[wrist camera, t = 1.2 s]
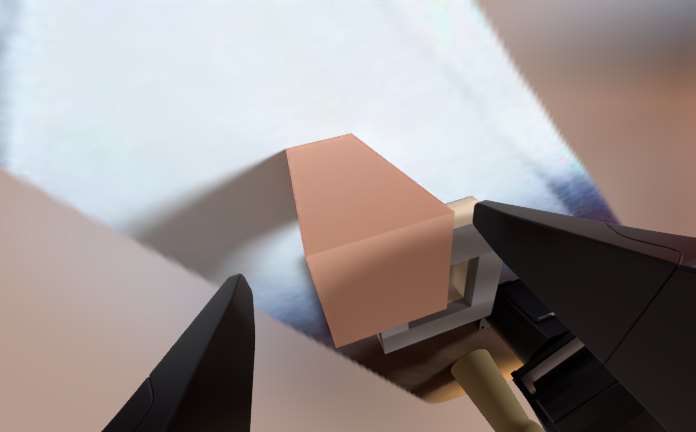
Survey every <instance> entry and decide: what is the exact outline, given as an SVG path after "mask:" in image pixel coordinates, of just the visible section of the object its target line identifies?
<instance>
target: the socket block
mask: <svg viewBox="0 0 696 432" xmlns="http://www.w3.org/2000/svg"><path fill="white" fill-rule="evenodd" d="M477 202H481V201H479V200H477V199H476V198H474V197H472V196H471V197H468V198H465V199H461V200H458V201H454V202H451V203H448V204H445V205H446V206H448V207H449V208H450V209H452V210H453V211H454V212H455V215H454V227H453V239H452V251H451V263H450V275H449V287H448V299H447V309H444V310H441V311H439V312H436V313H433V314H430V315H427V316H425V317H422V318H419V319H416V320H414V321H411V322H408V323H405V324H402V325H400V326H397V327H394V328H391V329H389V330H386V331H383V332H380V333H377V336H378V338H379V341H380V343H381V346H382V348H383V351H384V353H385V354H387V353H389V352H392V351H395V350H397V349H400V348H403V347H405V346H408V345H411V344H414V343H416V342H419V341H422V340H424V339H427V338H430V337H432V336H435V335H438V334H440V333H443V332H446V331H448V330H451V329H454V328H456V327H459V326H462V325H464V324H467V323H470V322H472V321H475V320H478V319H480V318H483V317H486V316H489V315H491V312H492V308H493V304H494V299H495V295H496V291H497V287H498V282H499V278H500V274H501V270H502V266H503V261H502V260H501V259H500V258H499V257H498V256H497V254H496V253H495V252H494V251H493V250H492V248H491V247H490V246H489V244H488V243H487V242H486V241H485V239H484V238H483V237H482V236H481V234H480V233H479V232H478V231H477V229H476V228H475V227H474V225H473V222H472V218H473V210H474V205H475V204H476V203H477Z"/></svg>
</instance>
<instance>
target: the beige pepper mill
mask: <svg viewBox="0 0 696 432" xmlns="http://www.w3.org/2000/svg"><path fill="white" fill-rule="evenodd" d="M451 373H452V375H453V376H454V377H455V379H456V380H457V381H458V383H459V384H460V385H461V387H462V388H463V389H464V391H465V392H466V393H467V395H468V396H469V397H470V399H471V400H472V401H473V403H474V404H475V405H476V406H477V408H478V409H479V411H480V412H481V413H482V415H483V416H484V417H485V418H486V420H487V421H488V423H489V424H490V425H491V427H492V428H493V429H494V430H495V432H545V431H544V430H543V429H542V428H541V427H540V426H539V425H538V424H537V423H535V422H534V421H532V420H530V419H529V418H528V416H527V415H526V413H525V411H524V410H523V408H522V406H521V405H520V403H519V402H518V400H517V398H516V397H515V395H514V394H513V392H512V390H511V389H510V387H509V385H508V384H507V382H506V380H505V379H504V377H503V375H502V374H501V372H500V371H499V369H498V367H497V366H496V364H495V362H494V361H493V359H492V358H491V356H490V354H489V353H488V351H487V350H485V349H479V350H475V351H472V352H470V353H468V354H466V355H464V356H463V357H461V358H460V359H459V360H457V361H456V362H455V364H454V365H453V366H452V368H451Z"/></svg>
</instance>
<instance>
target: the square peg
mask: <svg viewBox="0 0 696 432" xmlns="http://www.w3.org/2000/svg"><path fill="white" fill-rule="evenodd" d="M286 154H287V159H288V165H289V170H290V176H291V181H292V187H293V193H294V198H295V204H296V209H297V215H298V220H299V226H300V231H301V237H302V242H303V248H304V254H305V258H306V261H307V264H308V267H309V270H310V273H311V276H312V279H313V282H314V284H315V287H316V290H317V293H318V296H319V299H320V302H321V305H322V308H323V311H324V314H325V317H326V319H327V322H328V325H329V328H330V331H331V334H332V337H333V340H334V343H335V346H336V348H339V347H341V346H344V345H347V344H350V343H352V342H355V341H358V340H361V339H364V338H366V337H369V336H372V335H375V334H377V333H380V332H383V331H386V330H389V329H391V328H394V327H397V326H400V325H402V324H405V323H408V322H411V321H414V320H416V319H419V318H422V317H425V316H427V315H430V314H433V313H436V312H439V311H441V310H444V309H447V299H448V287H449V275H450V263H451V251H452V239H453V227H454V215H455V212H454V211H453V210H452V209H450V208H449V207H448V206H446V205H445V204H444V203H442V202H441V201H440V200H438V199H437V198H436V197H434V196H433V195H432V194H431V193H429V192H428V191H427V190H425V189H424V188H423V187H421V186H420V185H419V184H417V183H416V182H415V181H413V180H412V179H411V178H410V177H408V176H407V175H406V174H404V173H403V172H402V171H400V170H399V169H398V168H396V167H395V166H394V165H392V164H391V163H390V162H388V161H387V160H386V159H385V158H383V157H382V156H381V155H379V154H378V153H377V152H375V151H374V150H373V149H371V148H370V147H369V146H367V145H366V144H365V143H364V142H362V141H361V140H360V139H358V138H357V137H356V136H354V135H353V134H352V133H351V134H346V135H342V136H338V137H334V138H330V139H326V140H321V141H317V142H313V143H309V144H305V145H300V146H296V147H292V148H288V149H286Z"/></svg>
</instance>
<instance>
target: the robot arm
mask: <svg viewBox="0 0 696 432" xmlns="http://www.w3.org/2000/svg"><path fill="white" fill-rule="evenodd" d="M472 222H473V225H474V227H475V228H476V229H477V231H478V232H479V233H480V234H481V236H482V237H483V238H484V239H485V241H486V242H487V243H488V244H489V246H490V247H491V248H492V250H493V251H494V252H495V253H496V254H497V256H498V257H499V258H500V259H501V260H502V261H503V262H504V263H505V264H506V265H507V266H508V267H509V268H510V269H511V270H512V271H513V272H514V273H515V274H516V275H517V276H518V277H519V278H520V279H521V280H519V281H516V282H513V283H511V284H508V285H505V286H502V287H500V288H497V291H496V295H495V299H494V304H493V308H492V312H491V315H489V316H486V317H483V318H480V319H478V323H477V328H478V329H479V330H484V329H487V328H489V327H492V328H493V329H494V330H495V331H496V333H497V334H498V335H499V336H500V337H501V338H502V340H503V341H504V342H505V343H506V344H507V345H508V347H509V348H510V349H511V350H512V351H513V352H514V353H515V355H516V356H517V357H518V358H519V359H520V360H521V362H522V363H523V364H524V365H523V366H522V367H521V368H519V369H518V370H517V371H513V372H512V373H511V375H512V377H513V381H514V383H515V384H516V385H517V387H518V388H519V389H520V391H521V392H522V393H523V395H524V396H525V398H526V399H527V401H528V402H529V404H530V406H531V407H532V409H533V411H534V413H535V414H536V416H537V418H538V419H539V421H540V423H541V425H542V426H543V428H544V430H545V431H546V432H696V238H695V237H689V236H682V235H675V234H668V233H662V232H656V231H650V230H643V229H638V228H632V227H627V226H621V225H616V224H610V223H603V222H600V221H594V220H589V219H584V218H578V217H573V216H568V215H562V214H557V213H552V212H546V211H541V210H536V209H531V208H525V207H520V206H515V205H509V204H504V203H499V202H493V201H488V200H484V201H481V202H477V203H476V204H475V205H474V210H473V218H472ZM254 353H255V323H254V307H253V294H252V290H251V288H250V286H249V285H248V283H247V281H246V279H245V277H244V276H243V275H242V274H237V275H234V276H231V277H229V278H228V279H227V280H226V281H225V283H224V284H223V285H222V286H221V287H220V289H219V290H218V291H217V292H216V294H215V295H214V296H213V297H212V298H211V300H210V301H209V302H208V303H207V305H206V306H205V307H204V308H203V310H202V311H201V312H200V313H199V315H198V316H197V317H196V318H195V319H194V321H193V322H192V323H191V324H190V326H189V327H188V328H187V329H186V330H185V332H184V333H183V334H182V335H181V337H180V338H179V339H178V340H177V342H176V343H175V344H174V345H173V346H172V348H171V349H170V350H169V351H168V353H167V354H166V355H165V356H164V358H163V359H162V360H161V361H160V363H159V364H158V365H157V366H156V367H155V369H154V370H153V371H152V372H151V374H150V375H149V376H150V377H148V378H146V380H145V381H144V382H143V383H142V384H141V386H140V387H139V388H138V390H137V391H136V392H135V393H134V394H133V395H132V397H131V398H130V399H129V400H128V401H127V403H126V404H125V405H124V406H123V407H122V409H121V410H120V411H119V412H118V413H117V414H116V416H115V417H114V418H113V419H112V420H111V421H110V422H109V424H108V425H107V426H106V427H105V428H104V429H103V430H102V431H101V432H250V423H251V405H252V387H253V370H254Z"/></svg>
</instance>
